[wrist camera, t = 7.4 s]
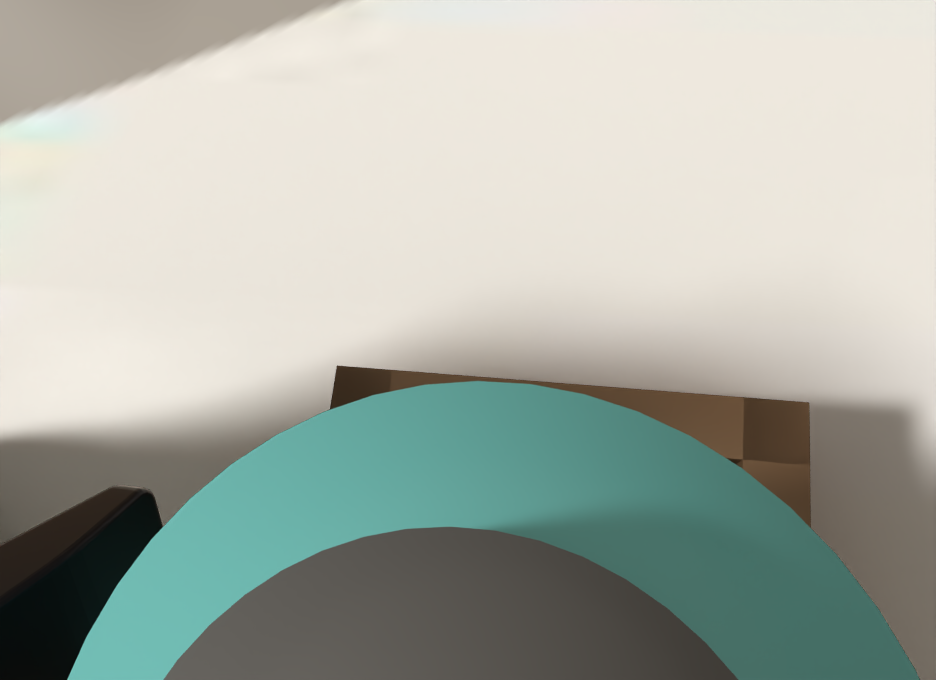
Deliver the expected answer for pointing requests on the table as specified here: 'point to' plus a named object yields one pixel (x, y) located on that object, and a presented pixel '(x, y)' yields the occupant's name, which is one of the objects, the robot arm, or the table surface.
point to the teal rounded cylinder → (487, 557)
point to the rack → (665, 422)
